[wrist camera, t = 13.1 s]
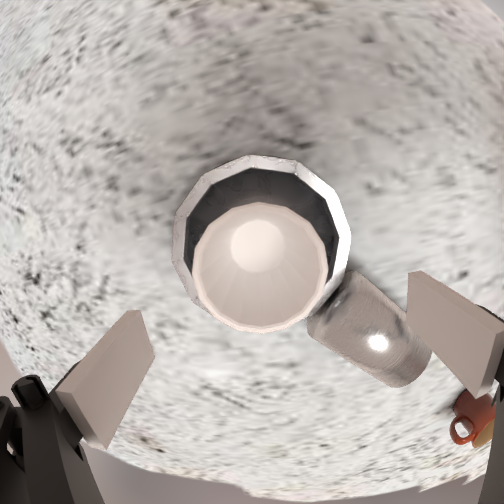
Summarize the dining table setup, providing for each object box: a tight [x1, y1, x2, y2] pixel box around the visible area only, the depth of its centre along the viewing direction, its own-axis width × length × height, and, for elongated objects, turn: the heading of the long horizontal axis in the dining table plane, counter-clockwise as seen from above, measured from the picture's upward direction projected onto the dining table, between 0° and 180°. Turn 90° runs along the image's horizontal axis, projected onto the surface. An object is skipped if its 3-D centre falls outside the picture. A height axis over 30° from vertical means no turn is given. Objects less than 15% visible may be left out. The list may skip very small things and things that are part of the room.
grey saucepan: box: [172, 155, 432, 388], centre depth 28 cm, size 31×18×8 cm, turn 53°
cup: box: [192, 202, 328, 334], centre depth 25 cm, size 10×10×9 cm
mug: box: [450, 390, 496, 448], centre depth 32 cm, size 12×9×10 cm
